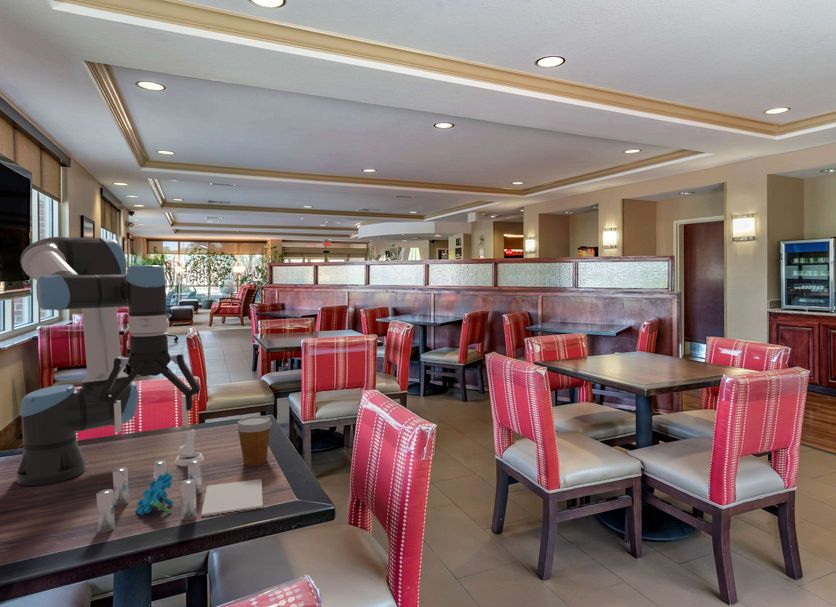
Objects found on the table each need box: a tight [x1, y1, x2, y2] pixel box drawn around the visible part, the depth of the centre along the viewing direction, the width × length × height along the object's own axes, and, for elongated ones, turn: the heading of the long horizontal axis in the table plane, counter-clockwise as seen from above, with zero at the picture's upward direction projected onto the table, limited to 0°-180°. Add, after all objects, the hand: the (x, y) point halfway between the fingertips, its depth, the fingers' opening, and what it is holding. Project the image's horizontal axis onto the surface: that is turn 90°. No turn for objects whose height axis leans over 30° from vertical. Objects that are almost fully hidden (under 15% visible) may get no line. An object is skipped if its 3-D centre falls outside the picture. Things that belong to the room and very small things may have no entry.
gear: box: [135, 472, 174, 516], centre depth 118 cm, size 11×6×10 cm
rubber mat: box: [200, 478, 264, 517], centre depth 123 cm, size 13×16×1 cm
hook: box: [174, 428, 205, 467], centre depth 146 cm, size 8×12×7 cm
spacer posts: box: [96, 459, 203, 534], centre depth 118 cm, size 19×18×8 cm
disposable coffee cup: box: [236, 415, 272, 467], centre depth 146 cm, size 10×10×12 cm
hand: (152, 427), depth 116 cm, fingers open, 13 cm apart
